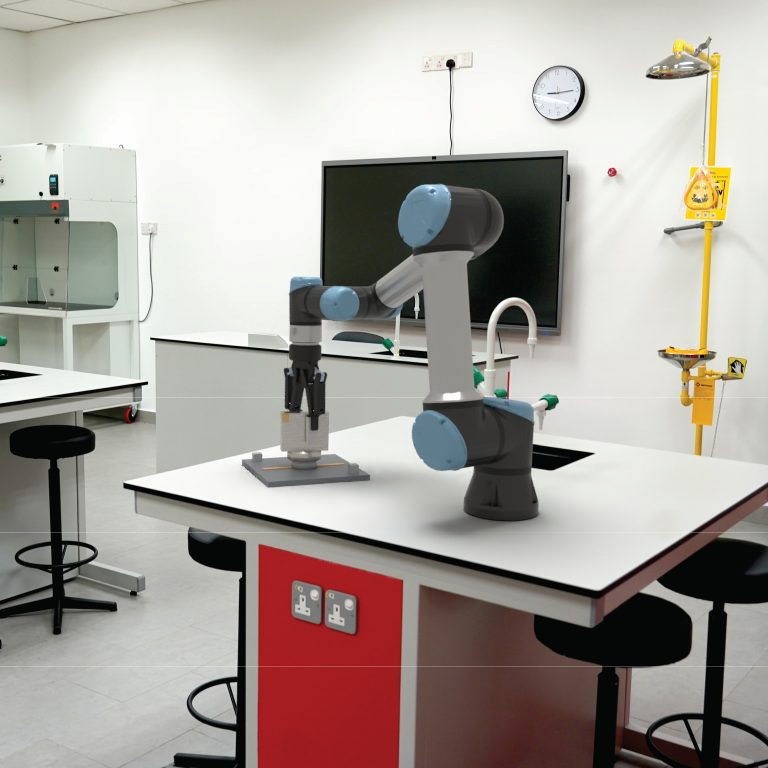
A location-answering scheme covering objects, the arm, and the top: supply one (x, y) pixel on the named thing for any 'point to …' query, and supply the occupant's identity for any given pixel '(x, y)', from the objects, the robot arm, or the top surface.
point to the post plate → (303, 470)
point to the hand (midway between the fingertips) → (304, 441)
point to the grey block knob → (302, 436)
